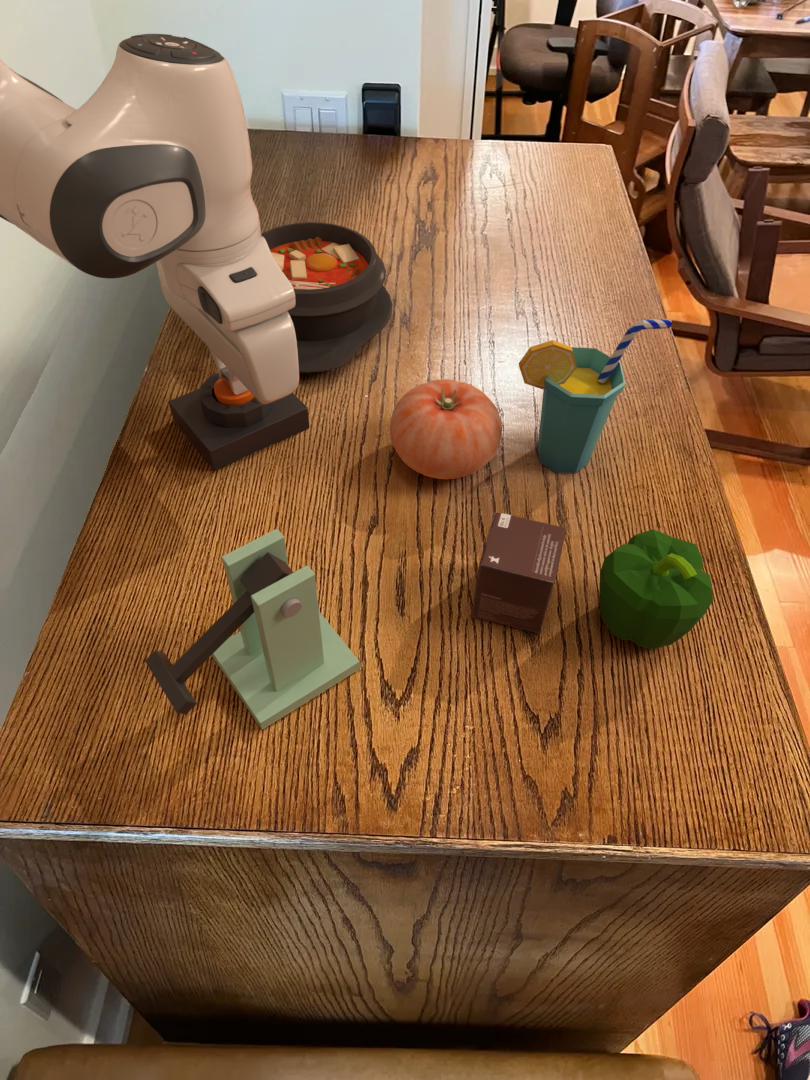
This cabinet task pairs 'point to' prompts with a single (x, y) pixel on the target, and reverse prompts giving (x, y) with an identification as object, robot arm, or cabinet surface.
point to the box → (517, 571)
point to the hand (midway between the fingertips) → (235, 385)
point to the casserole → (331, 290)
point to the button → (230, 395)
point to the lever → (213, 635)
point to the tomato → (445, 429)
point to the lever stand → (280, 639)
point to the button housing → (235, 423)
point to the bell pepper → (653, 589)
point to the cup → (576, 395)
